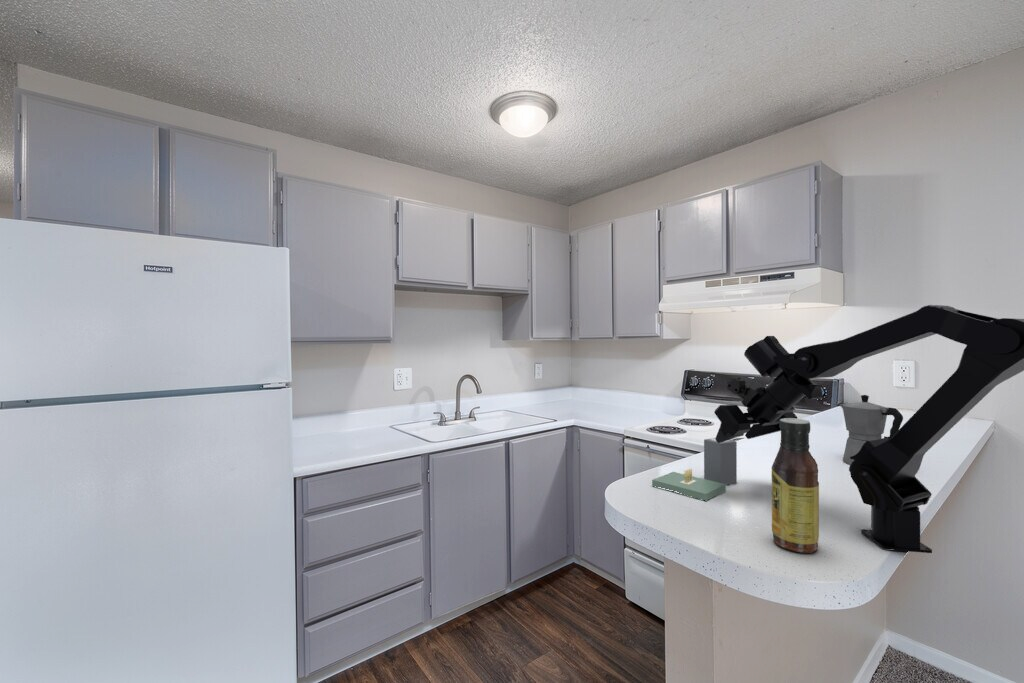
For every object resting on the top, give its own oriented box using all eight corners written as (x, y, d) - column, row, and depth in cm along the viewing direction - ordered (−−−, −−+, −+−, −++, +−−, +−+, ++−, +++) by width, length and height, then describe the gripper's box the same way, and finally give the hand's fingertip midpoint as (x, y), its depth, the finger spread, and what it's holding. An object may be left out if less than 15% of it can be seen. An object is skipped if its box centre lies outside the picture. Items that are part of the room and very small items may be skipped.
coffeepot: (826, 459, 119) (826, 392, 119) (853, 456, 122) (853, 391, 122) (887, 476, 104) (887, 400, 104) (917, 473, 107) (917, 398, 107)
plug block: (736, 483, 99) (736, 441, 99) (720, 486, 97) (720, 443, 97) (719, 478, 103) (719, 437, 103) (704, 480, 101) (704, 439, 101)
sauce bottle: (775, 533, 74) (775, 414, 74) (820, 544, 70) (820, 418, 70) (768, 547, 69) (767, 420, 69) (816, 560, 65) (816, 425, 65)
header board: (725, 491, 94) (725, 472, 94) (705, 501, 88) (705, 481, 88) (673, 478, 103) (673, 461, 103) (652, 486, 97) (652, 468, 97)
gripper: (784, 363, 96) (739, 406, 106) (722, 365, 88) (680, 412, 99) (821, 404, 89) (769, 446, 99) (758, 411, 81) (709, 456, 92)
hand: (732, 439), depth 97 cm, fingers open, 9 cm apart
